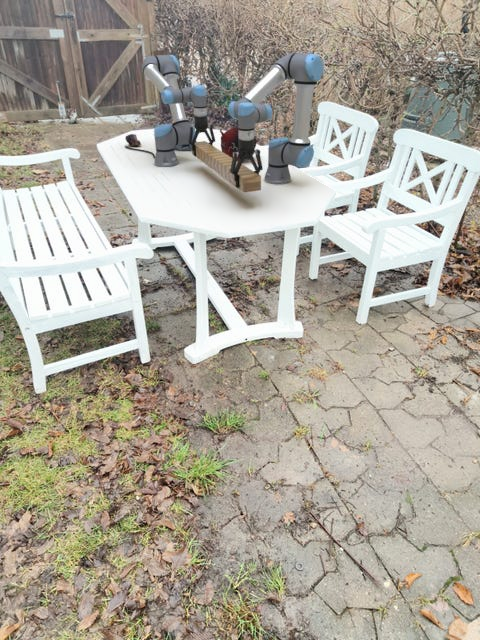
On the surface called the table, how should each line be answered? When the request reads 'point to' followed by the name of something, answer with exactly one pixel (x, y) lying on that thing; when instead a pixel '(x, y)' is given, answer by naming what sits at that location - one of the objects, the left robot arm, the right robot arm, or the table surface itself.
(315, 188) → the table surface
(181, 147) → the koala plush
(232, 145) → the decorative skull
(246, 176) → the long beam
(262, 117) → the right robot arm
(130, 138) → the rock
